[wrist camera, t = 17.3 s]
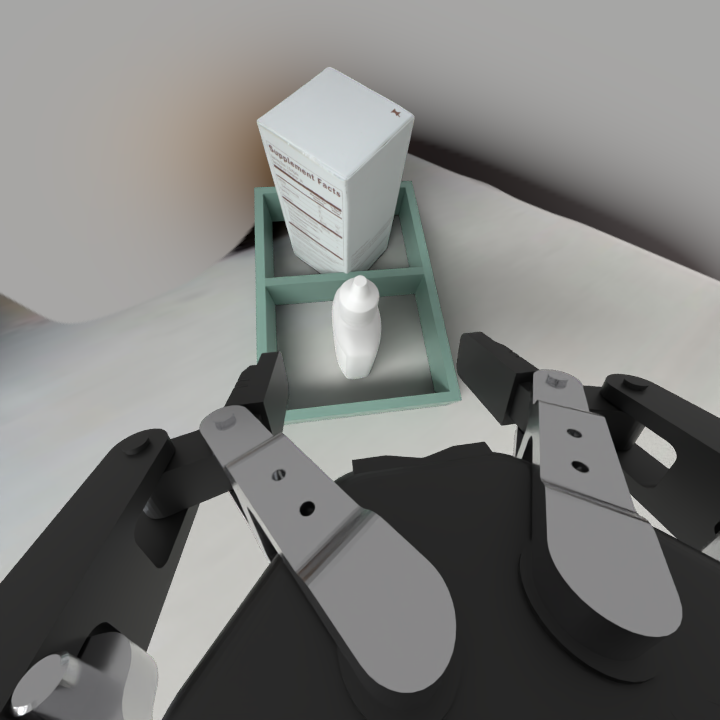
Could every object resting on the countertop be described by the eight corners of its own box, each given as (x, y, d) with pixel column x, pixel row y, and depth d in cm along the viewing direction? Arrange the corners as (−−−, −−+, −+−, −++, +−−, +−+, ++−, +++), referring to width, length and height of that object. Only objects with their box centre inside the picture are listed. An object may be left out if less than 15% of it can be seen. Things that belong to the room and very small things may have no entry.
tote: (270, 426, 23) (257, 424, 20) (264, 216, 29) (254, 187, 26) (445, 405, 24) (461, 400, 21) (404, 208, 31) (411, 180, 27)
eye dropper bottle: (321, 370, 25) (301, 311, 13) (342, 319, 26) (340, 228, 15) (364, 386, 25) (382, 340, 13) (383, 333, 26) (413, 252, 15)
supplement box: (336, 213, 30) (330, 60, 18) (388, 249, 29) (420, 113, 17) (292, 255, 28) (251, 116, 16) (346, 295, 27) (347, 179, 15)
